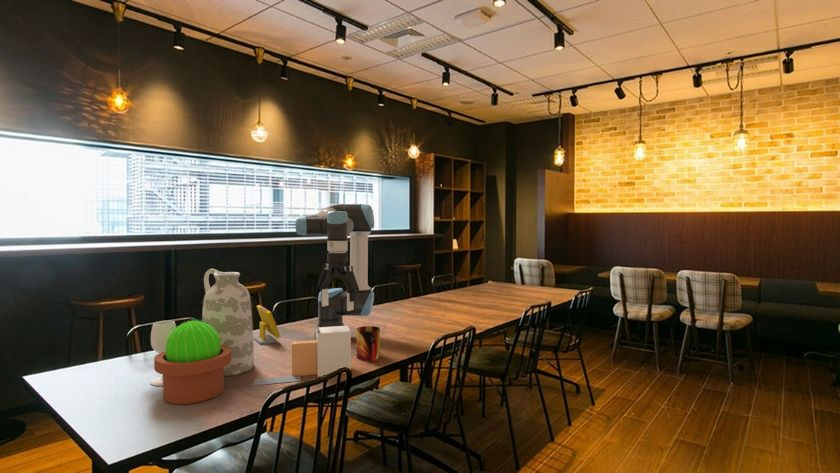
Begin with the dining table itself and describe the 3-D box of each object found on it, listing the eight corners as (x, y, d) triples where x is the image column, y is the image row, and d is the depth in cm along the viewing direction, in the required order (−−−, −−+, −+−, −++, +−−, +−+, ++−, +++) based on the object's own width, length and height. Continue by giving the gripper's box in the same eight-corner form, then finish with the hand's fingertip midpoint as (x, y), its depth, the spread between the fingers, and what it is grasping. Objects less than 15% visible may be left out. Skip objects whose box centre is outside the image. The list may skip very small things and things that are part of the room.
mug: (373, 364, 178) (373, 334, 178) (351, 357, 188) (351, 328, 187) (391, 359, 185) (391, 330, 185) (369, 352, 195) (369, 324, 194)
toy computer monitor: (280, 344, 205) (280, 310, 205) (262, 347, 201) (262, 312, 200) (268, 334, 222) (267, 303, 221) (251, 337, 218) (251, 304, 217)
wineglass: (158, 377, 162) (157, 319, 161) (183, 377, 163) (182, 319, 162) (145, 386, 154) (144, 325, 153) (172, 385, 154) (171, 325, 153)
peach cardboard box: (291, 373, 167) (291, 341, 167) (330, 370, 172) (330, 339, 171) (292, 376, 165) (291, 344, 164) (330, 372, 169) (330, 341, 168)
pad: (254, 379, 161) (254, 379, 161) (300, 375, 165) (300, 374, 165) (253, 385, 155) (253, 385, 155) (301, 381, 160) (301, 380, 160)
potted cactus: (180, 414, 132) (179, 330, 131) (141, 398, 144) (140, 320, 143) (244, 390, 151) (244, 316, 150) (205, 377, 163) (204, 309, 161)
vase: (264, 364, 178) (263, 268, 176) (230, 380, 160) (228, 273, 159) (223, 358, 184) (222, 265, 183) (186, 373, 167) (184, 271, 165)
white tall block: (316, 368, 173) (316, 326, 172) (347, 366, 176) (347, 324, 176) (317, 376, 164) (317, 331, 164) (350, 373, 168) (350, 329, 167)
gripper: (307, 250, 173) (307, 305, 174) (354, 254, 159) (354, 313, 160) (322, 250, 180) (322, 302, 180) (368, 253, 165) (368, 310, 166)
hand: (337, 308), depth 170 cm, fingers open, 13 cm apart
